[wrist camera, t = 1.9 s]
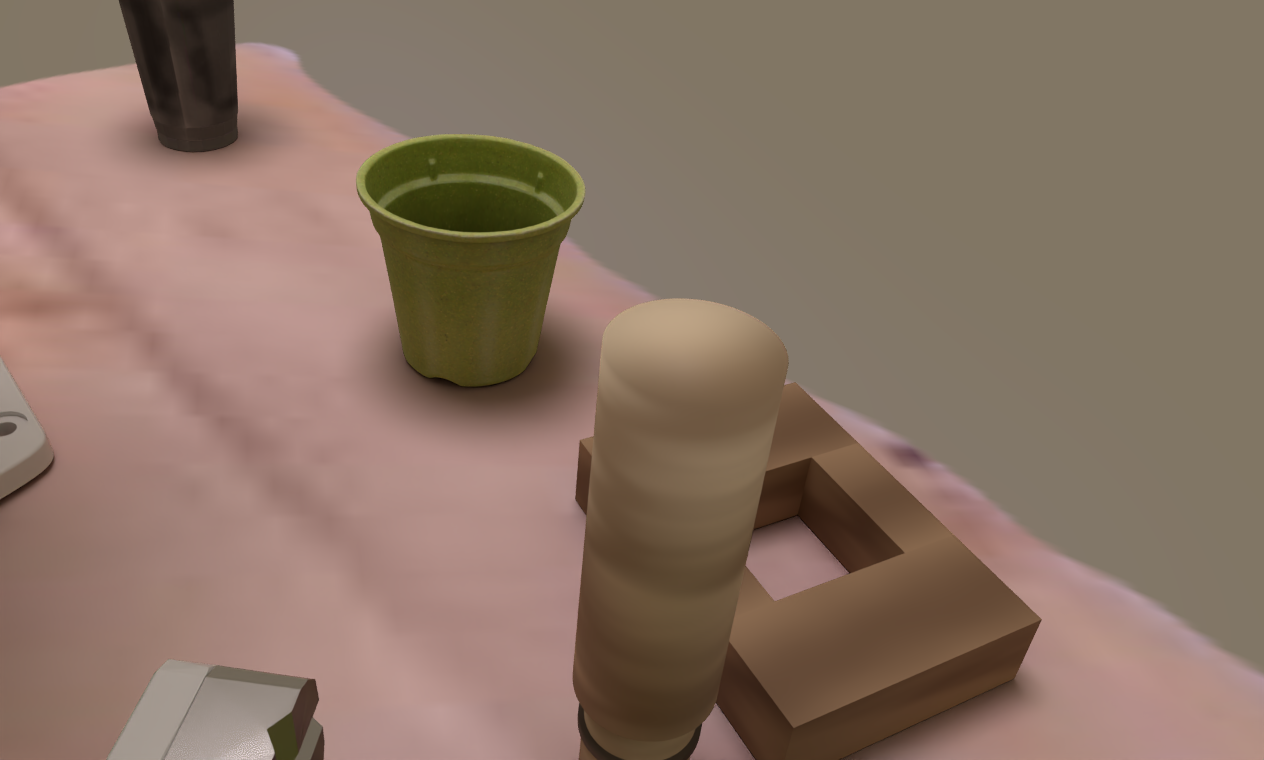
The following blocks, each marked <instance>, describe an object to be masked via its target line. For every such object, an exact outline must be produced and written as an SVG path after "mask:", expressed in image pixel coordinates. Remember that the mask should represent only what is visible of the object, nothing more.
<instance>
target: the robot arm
mask: <svg viewBox="0 0 1264 760" xmlns="http://www.w3.org/2000/svg"><path fill="white" fill-rule="evenodd" d="M53 457H54V452H53V448H52V446H51V444H50V442H49V440H48V438H47V436H46V433H45V431H44V430H43V428H42V426H41V424H40V423H39V421H38V419H37V418H36V416H35V414H34V412H33V411H32V409H31V407H30V406H29V404H28V402H27V401H26V399H25V397H24V395H23V394H22V392H21V390H20V389H19V387H18V385H17V383H16V382H15V380H14V378H13V377H12V375H11V373H10V372H9V370H8V368H7V366H6V365H5V363H4V361H3V360H2V358H1V356H0V499H1V498H3V497H5V496H6V495H8V494H10V493H11V492H13V491H15V490H16V489H18V488H19V487H21V486H23V485H24V484H26V483H27V482H29V481H30V480H32V479H33V478H35V477H36V476H37V475H38V474H40V473H41V472H42V471H43V470H45V469H46V468H47V467H48V466H49V464H50V463H51V461H52V460H53ZM318 701H319V697H318V691H317V686H316V681H315V679H310V678H302V677H295V676H288V675H281V674H274V673H267V672H260V671H253V670H246V669H239V668H232V667H225V666H219V665H213V664H205V663H197V662H189V661H181V660H173V659H168V660H167V661H166V662H165V663H164V664H163V665H162V666H161V667H160V668H159V669H158V670H157V671H156V672H155V673H154V675H153V677H152V678H151V680H150V682H149V684H148V686H147V687H146V689H145V691H144V693H143V694H142V696H141V698H140V700H139V702H138V703H137V705H136V707H135V709H134V711H133V712H132V714H131V716H130V718H129V720H128V721H127V723H126V725H125V727H124V728H123V730H122V732H121V734H120V736H119V737H118V739H117V741H116V743H115V745H114V746H113V748H112V750H111V752H110V753H109V755H108V757H107V759H106V760H323V759H324V734H323V727H322V726H321V725H320V724H319V723H318V722H317V721H316V720H315V719H314V718H313V714H314V712H315V709H316V706H317V704H318Z"/></svg>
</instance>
